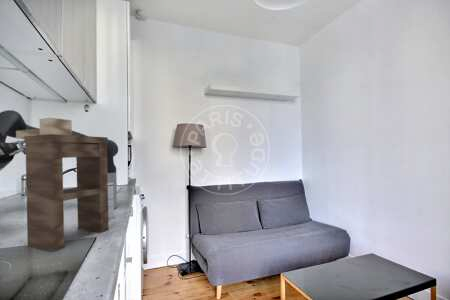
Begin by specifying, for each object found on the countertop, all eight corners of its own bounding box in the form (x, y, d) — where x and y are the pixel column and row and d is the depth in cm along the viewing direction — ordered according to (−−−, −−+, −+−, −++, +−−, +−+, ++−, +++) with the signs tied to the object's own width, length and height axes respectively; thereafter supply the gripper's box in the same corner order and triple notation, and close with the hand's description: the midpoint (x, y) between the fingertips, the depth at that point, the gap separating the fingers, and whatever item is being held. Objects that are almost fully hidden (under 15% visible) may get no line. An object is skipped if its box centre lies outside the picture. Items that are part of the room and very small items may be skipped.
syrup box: (91, 220, 89) (90, 183, 89) (104, 216, 94) (103, 181, 94) (102, 221, 87) (101, 184, 87) (114, 217, 92) (113, 182, 92)
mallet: (31, 139, 76) (31, 124, 76) (71, 136, 69) (71, 120, 69) (9, 138, 71) (9, 122, 71) (51, 135, 64) (50, 117, 64)
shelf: (84, 226, 82) (83, 138, 82) (109, 229, 77) (107, 137, 77) (26, 246, 65) (24, 136, 65) (54, 252, 60) (51, 134, 61)
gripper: (21, 168, 84) (46, 145, 80) (-33, 171, 71) (-6, 144, 66) (14, 151, 85) (39, 127, 81) (-39, 151, 72) (-14, 123, 68)
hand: (19, 135), depth 74 cm, fingers open, 8 cm apart
